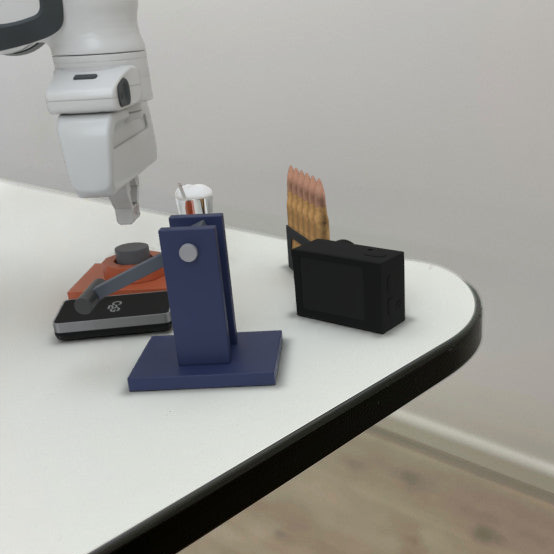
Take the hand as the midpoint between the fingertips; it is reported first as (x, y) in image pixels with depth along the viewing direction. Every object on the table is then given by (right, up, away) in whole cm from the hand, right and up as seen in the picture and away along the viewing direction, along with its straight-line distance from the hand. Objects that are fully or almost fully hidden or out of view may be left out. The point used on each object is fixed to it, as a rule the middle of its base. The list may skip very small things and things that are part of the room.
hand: (129, 221), depth 82 cm
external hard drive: (+1, -11, -5) cm, 13 cm away
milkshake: (+4, -2, +15) cm, 16 cm away
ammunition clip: (+19, -5, +6) cm, 21 cm away
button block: (0, -7, +3) cm, 8 cm away
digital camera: (+24, -10, -5) cm, 27 cm away
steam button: (0, -4, +2) cm, 5 cm away
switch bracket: (+12, -15, -15) cm, 24 cm away
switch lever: (+7, -8, -18) cm, 21 cm away
